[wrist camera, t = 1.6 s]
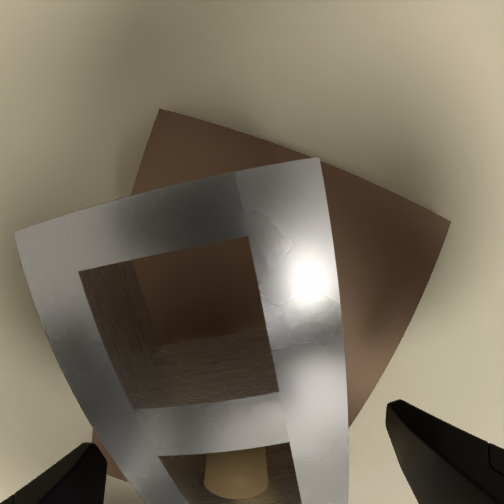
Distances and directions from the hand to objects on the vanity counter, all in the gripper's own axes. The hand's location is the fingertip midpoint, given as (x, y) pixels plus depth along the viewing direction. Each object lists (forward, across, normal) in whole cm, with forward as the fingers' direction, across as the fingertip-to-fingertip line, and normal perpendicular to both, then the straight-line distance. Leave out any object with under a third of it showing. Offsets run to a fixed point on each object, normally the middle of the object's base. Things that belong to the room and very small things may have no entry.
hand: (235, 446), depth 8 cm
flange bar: (+1, 0, 0) cm, 1 cm away
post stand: (+4, 0, 0) cm, 4 cm away
